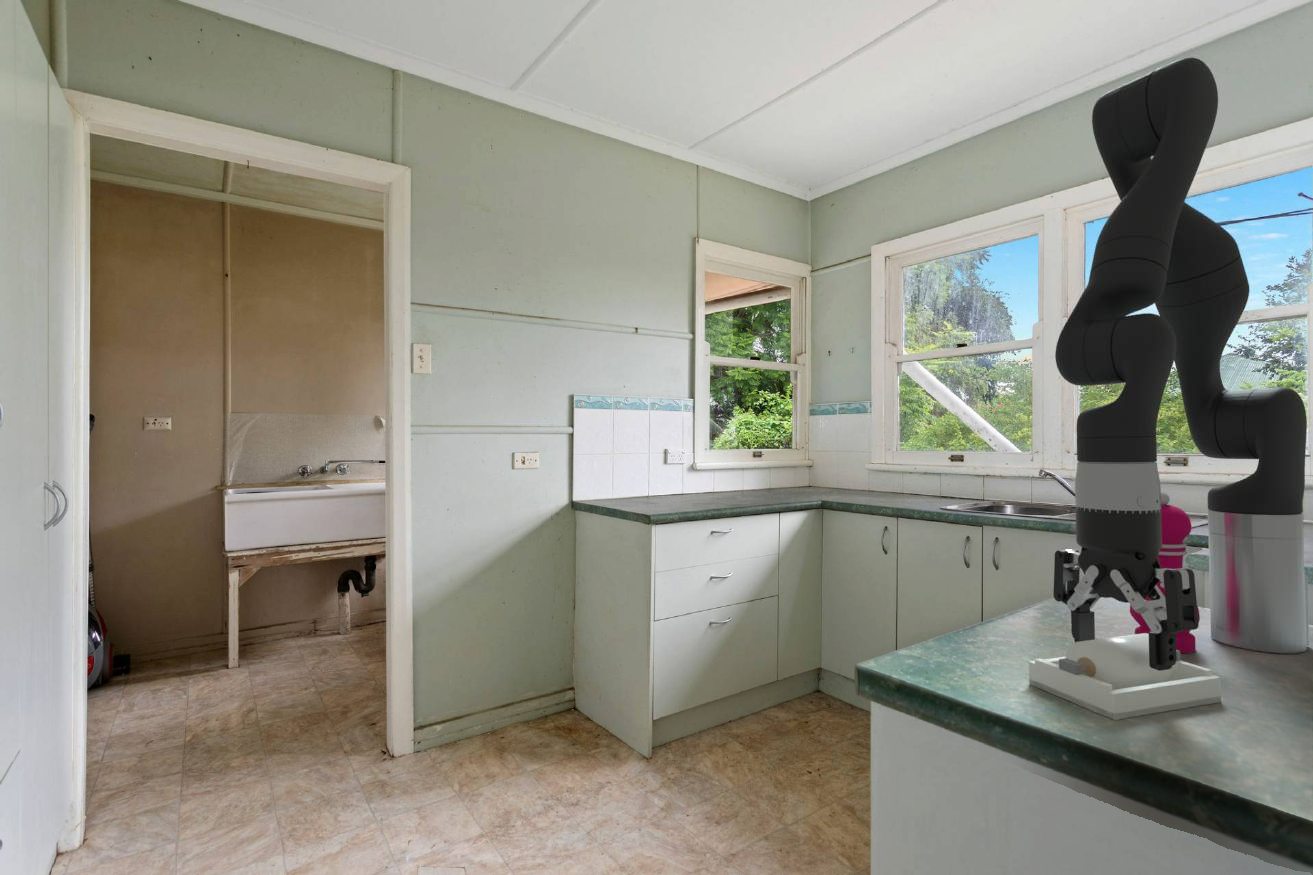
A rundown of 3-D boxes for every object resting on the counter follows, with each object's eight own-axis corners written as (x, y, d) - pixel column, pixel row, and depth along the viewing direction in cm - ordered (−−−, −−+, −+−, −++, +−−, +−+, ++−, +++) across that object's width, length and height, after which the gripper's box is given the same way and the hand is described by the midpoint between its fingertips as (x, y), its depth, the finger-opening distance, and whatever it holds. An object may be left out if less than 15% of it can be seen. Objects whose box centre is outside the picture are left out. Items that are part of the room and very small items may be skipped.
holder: (1127, 669, 77) (1126, 635, 77) (1221, 701, 67) (1220, 662, 67) (1028, 684, 73) (1027, 648, 73) (1113, 720, 63) (1112, 678, 63)
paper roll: (1132, 675, 74) (1129, 628, 74) (1180, 689, 69) (1176, 639, 69) (1064, 685, 71) (1062, 636, 71) (1109, 701, 66) (1106, 648, 66)
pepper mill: (1214, 656, 81) (1210, 494, 81) (1148, 653, 83) (1144, 494, 83) (1180, 639, 88) (1176, 490, 88) (1119, 636, 90) (1116, 490, 90)
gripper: (1215, 508, 64) (1219, 674, 64) (1084, 497, 78) (1087, 634, 78) (1157, 512, 62) (1161, 683, 62) (1033, 500, 76) (1036, 640, 76)
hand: (1120, 656), depth 70 cm, fingers open, 8 cm apart
